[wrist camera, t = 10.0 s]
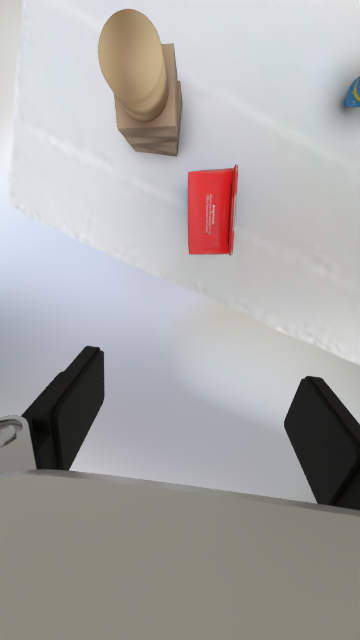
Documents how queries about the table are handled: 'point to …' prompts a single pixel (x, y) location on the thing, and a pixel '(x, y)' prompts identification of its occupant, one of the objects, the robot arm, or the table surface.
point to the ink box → (211, 210)
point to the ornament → (353, 94)
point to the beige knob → (134, 64)
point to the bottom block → (162, 147)
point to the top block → (166, 122)
